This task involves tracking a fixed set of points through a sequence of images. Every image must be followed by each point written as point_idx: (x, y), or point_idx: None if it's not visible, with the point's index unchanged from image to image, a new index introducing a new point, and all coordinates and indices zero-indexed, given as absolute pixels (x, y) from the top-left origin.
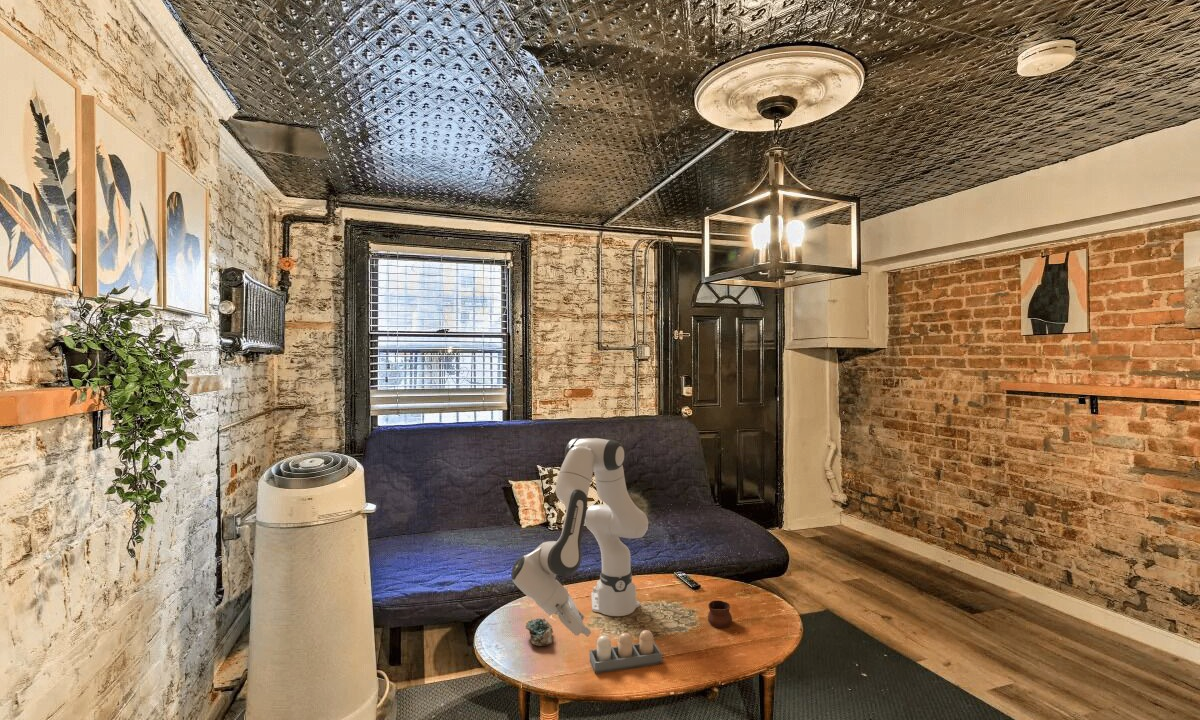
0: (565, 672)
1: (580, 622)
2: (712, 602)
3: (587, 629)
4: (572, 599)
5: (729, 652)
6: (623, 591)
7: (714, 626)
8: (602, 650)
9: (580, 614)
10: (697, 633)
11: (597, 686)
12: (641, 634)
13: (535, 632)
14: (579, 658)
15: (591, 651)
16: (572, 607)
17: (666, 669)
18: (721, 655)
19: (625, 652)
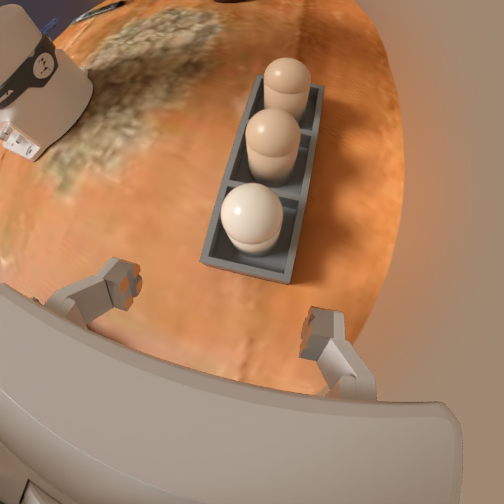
0: (233, 365)
1: (456, 449)
2: None
3: (344, 339)
4: (4, 295)
5: (326, 18)
6: (56, 69)
7: (238, 1)
8: (275, 236)
9: (117, 286)
10: (242, 19)
11: (348, 306)
12: (288, 80)
13: None
14: (181, 290)
15: (211, 258)
16: (177, 468)
17: (346, 108)
18: (331, 27)
19: (294, 160)
